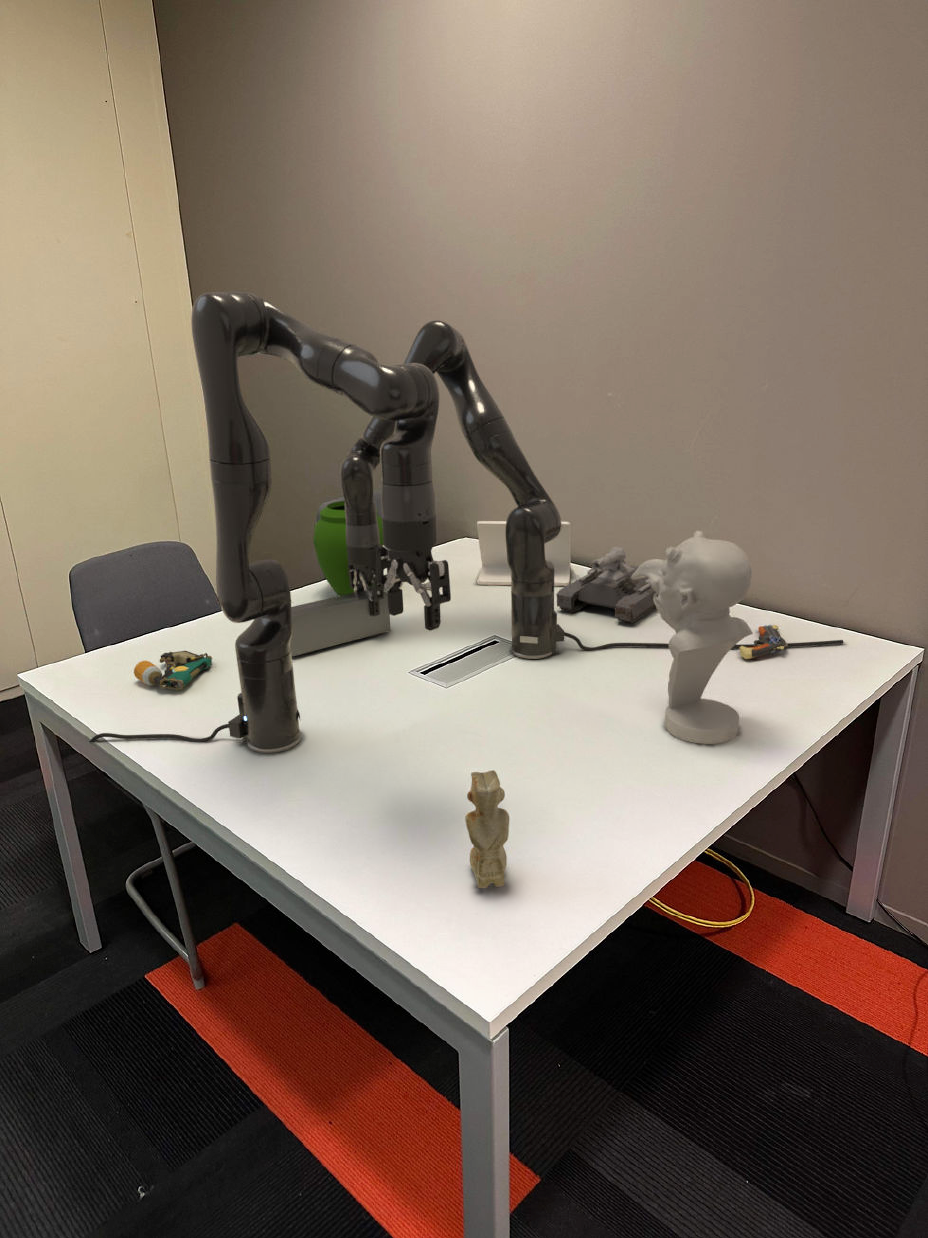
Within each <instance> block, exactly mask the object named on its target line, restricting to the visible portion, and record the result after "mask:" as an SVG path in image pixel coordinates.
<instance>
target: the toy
mask: <svg viewBox="0 0 928 1238" xmlns="http://www.w3.org/2000/svg"><path fill="white" fill-rule="evenodd" d="M626 557H627V556H626V551H625V549H624V548H622V547H621V546H614V547H612V548H611V549H610V550H609V552H608V553H607V554H605V555H604V556H601V557H599V558H598V559H597V557H596V558H594V559H593V560H592V561H590V562H589V563H590V564H591V565H592V567H591V568H590V569H589V570H587V573H586V575H584V576H582V577H580V578H578V579H577V580H575V581H573V582H570V583H569V585H567V586H563V587H562V588H560V589H559V590H558V591H557V592H556V607H558V608H559V609H560V610H562V611H566V612H572V613H575V612H577V611H579V610H581V609H582V608H585V607H586V606H588V605H592V606H598V607H602V608H603V607H604V608H609V609H613V610H614V618H615V619H617V620H618V621H621V622H626V623H631V624H634V623H635V622H637V621H638V620H640V619H641V618H642V617H644V616H645V615H647V614H648V613H650V612H651V611H652V610H654V609H655V608H656V605H655V604H654V600H653V597H654V594H655V593H656V592H655V591H654V590H653V589H652V587H651V583H650V579H649V578H647V577H644V578H640V579H635V580H634V579H632V578H631V576H632V575H633V574H634V573H635V571H636V570H637V569H638V568H639V566H635V565H629V564H628V563H627V562H626V561H625V559H626Z"/></svg>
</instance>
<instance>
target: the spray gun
mask: <svg viewBox="0 0 928 1238" xmlns="http://www.w3.org/2000/svg"><path fill="white" fill-rule="evenodd" d="M212 660H213V657H212V656H211V655H208V653H207V652H205V653H201V654H197V653H194V652H192V651H191V652H190V651H188V650H180V651H169V652H164V653H162V654H161V655H160V658H159V660H158V662H159V663H161V664H163V663H165V664H166V668H165V670H163V672H164V674H163V673H162V669H160V668H159V666H157V665H156V664H154V663H152V662H151V661H149V660H141V661H139V662H138V663H136V665H135V666H134V668H133V675H134V677H135V678H136V679H137V680H139V681H140V682H142V683H143V684H145V685H147V686H155V685H157V686H158V687H160V688H161V689H171V690H172V689H173V690H182V689H184V687H185V686H186V685H188V684H189V683H190V682H191V681H192V679H193V678H195V677H196V676H197V675H198V674H200V673H201V672H202V671H203V670H206V669H208V668H209V667H210V666H211V665H212V662H213V661H212ZM178 663H179V664H181V665H179V666H176V665H177V664H178Z"/></svg>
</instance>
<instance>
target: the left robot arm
mask: <svg viewBox="0 0 928 1238" xmlns="http://www.w3.org/2000/svg"><path fill="white" fill-rule="evenodd" d="M190 319H191V322H190V324H191V335H192V341H193V346H194V347H193V348H194V353H195V359H196V363H197V368H198V374H199V379H200V384H201V390H202V397H203V403H204V404H203V405H204V412H205V421H206V427H207V428H206V429H207V439H208V440H207V441H208V458H209V470H210V480H211V487H212V494H213V504H214V505H213V506H214V517H215V518H214V519H215V535H216V536H215V537H216V540H215V541H216V545H215V546H216V549H215V550H216V552H215V553H216V556H215V576H216V577H215V580H216V581H215V582H216V583H215V584H216V594H217V600H218V603H219V607H220V608H221V611H222V613H223V615H224V616H225V617H226V618H227V619H228V620H229V621H230V622H232V623H234V624H241V623H247V622H249V621H252V622H251V623H250V624H249V626H247V628H246V629H245V630H244V631H243V632H241V633H240V634H239V635H238V637H237V638H236V639H235V643H234V648H235V657H236V663H237V671H238V678H239V686H240V692H239V693H238V694H237V697H236V698H237V699H236V700H237V705H238V715H236V716H234V717H233V718H232V719H230V720H229V721H228V722H227V723H225V724H222V725H220V726H218V727H216V728H214V730H213V732H212V733H211V734H210V735H209V736H207V737H201V738H194V737H189V736H185V735H181V734H175V733H174V734H173V733H150V734H147V733H146V734H145V733H144V734H119V733H111V732H101V733H98V734H95V735H94V736H93V737H92V738H91V739H90V740H89V741H88V742H89V743H94V742H96V741H97V740H99V739H101V738H114V739H121V740H138V739H139V740H140V739H142V740H143V739H176V740H182V741H186V742H189V743H191V742H192V743H207V742H209V741H212V740H213V739H215V737H216V736H217V734H218V733H219V732H221V731H222V730H225V729H228V731H229V736H230V737H231V738H236V739H240V740H241V739H242V743H243V744H244V745H247V747H248V748H249V749H250V750H251V751H254V752H256V753H263V754H272V753H273V754H275V753H280V752H284V751H287V750H290V749H291V748H294V747H295V746H297V744H298V743H300V741H301V738H302V733H301V730H300V722H301V714H300V711H299V709H298V702H297V693H296V692H297V691H296V684H295V683H296V682H295V674H294V666H293V656H292V655H291V646H290V642H291V638H292V632H293V629H292V611H291V607H292V596H291V595H292V594H291V593H292V592H291V586H290V582H289V577H288V575H287V573H286V571H285V569H284V568H283V566H282V565H281V564H280V562H278V561H277V560H275V559H274V558H273V559H272V558H262V559H258V560H254V561H250V547H251V541H252V537H253V534H254V533H255V529H256V526H257V524H258V523H259V520H260V519H261V516H262V513H263V511H264V509H265V507H266V504H267V503H268V500H269V497H270V494H271V489H272V482H273V481H272V464H271V450H270V445H269V444H270V443H269V442H268V439H267V437H266V435H265V433H264V431H263V430H262V427H261V425H260V424H259V423H258V421H257V419H256V418H255V416H254V415H253V412H252V411H251V410H250V408H249V406H248V404H247V403H246V401H245V399H244V395H243V392H242V389H241V384H240V383H241V382H240V376H239V366H238V365H239V364H238V358H244V357H252V356H255V355H265V356H271V357H276V358H280V359H283V360H285V361H288V362H290V363H291V364H293V366H295V368H296V369H297V370H298V371H299V372H300V374H301V375H302V376H303V377H305V379H307V380H308V381H310V382H312V383H313V384H315V385H317V386H319V387H320V388H324V389H326V390H328V391H330V392H333V393H335V394H337V395H340V396H342V397H345V398H347V399H348V400H350V402H351V403H353V404H354V405H355V406H357V408H359V409H360V410H362V411H363V412H365V413H366V414H368V415H369V416H371V417H375V418H378V419H381V420H385V421H396V424H395V429H394V432H393V434H392V435H391V436H390V437H389V438H387V439H386V440H385V441H384V442H383V443H382V444H381V447H380V463H379V466H380V467H379V468H380V482H381V488H380V490H381V491H380V507H381V508H380V511H381V518H382V528H383V543H384V545H381V546H377V547H376V573H377V583H378V584H379V585H380V584H383V585H384V591H385V592H386V593H387V596H388V608H389V614H390V616H393V617H396V616H399V615H401V614H403V613H404V596H403V589H402V587H403V585H404V583H407V584H409V585H410V586H412V587H413V588H414V591H415V592H416V593H417V594H419V595H420V597H421V599H422V601H423V604H424V605H423V612H424V613H423V615H424V629H425V630H427V631H430V632H431V631H434V630H437V629H439V628H440V626H441V623H442V620H441V618H442V617H441V605H443V604H444V603H445V604H446V603H449V602H450V601H451V600H452V594H451V582H450V569H449V562H448V561H447V560H446V559H443V560H439V561H438V560H434V557H433V554H432V549H433V548H434V546H435V545H436V544H437V542H438V541H437V519H436V518H437V517H436V497H435V496H436V495H435V490H434V484H433V466H432V464H433V463H432V445H433V441H434V437H435V433H436V427H437V422H438V416H439V410H440V389H439V384H438V382H437V379H436V376H435V374H433V373H432V372H431V370H430V369H429V368H428V367H426V366H425V365H423V364H419V363H408V364H404V363H403V364H393V365H387V364H383V363H379V361H378V359H377V357H376V356H375V355H374V354H373V353H372V352H371V351H370V350H368V349H366V348H364V347H362V346H360V345H357V344H354V343H352V342H350V341H347V340H344V339H341V338H339V337H336V336H333V335H331V334H328V333H325V332H323V331H321V330H318V329H316V328H315V327H312V326H310V325H307V324H306V323H304V322H303V321H301V320H299V319H297V318H296V317H293V316H292V315H290V314H289V313H287V312H285V311H284V310H282V309H281V308H279V307H278V306H277V305H275V304H273V303H272V302H270V301H268V300H267V299H266V298H264V297H262V296H260V295H258V294H256V293H253V292H250V291H245V290H239V291H238V290H237V291H235V290H234V291H233V290H231V291H209V292H205V293H202V294H200V295H199V296H198V297H197V299H195V301H194V303H193V307H192V309H191V318H190ZM385 570H386V574H384V573H385ZM427 580H428V582H426V581H427ZM425 582H426V583H425ZM440 589H441V591H440ZM428 591H430V592H431V596H430V594H429V592H428ZM441 592H442V593H441ZM299 721H300V722H299Z"/></svg>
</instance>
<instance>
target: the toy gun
mask: <svg viewBox="0 0 928 1238" xmlns="http://www.w3.org/2000/svg"><path fill="white" fill-rule="evenodd" d="M779 630H780V627H779V626H778V625H777V624H768V625H766V624H765V625H763V626H762V625H761V626H759V627H758V633H759V636H758V639H756V640H754V641H753V644H754V645H753V647H744V646H741V647H740V648H739V653H740V655H741V657H742V658H743V659H745V660H750V659H753V658H756V657H760V656H764V655H766V654H771V653H773V652H775V651H778V650H781V651H783V650H784V649H785V647H784V646H788V645H787V644H786V643H787V641H786V639H784V638H783V637H782V636H781V635H780V632H779ZM757 644H763V645H757Z"/></svg>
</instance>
